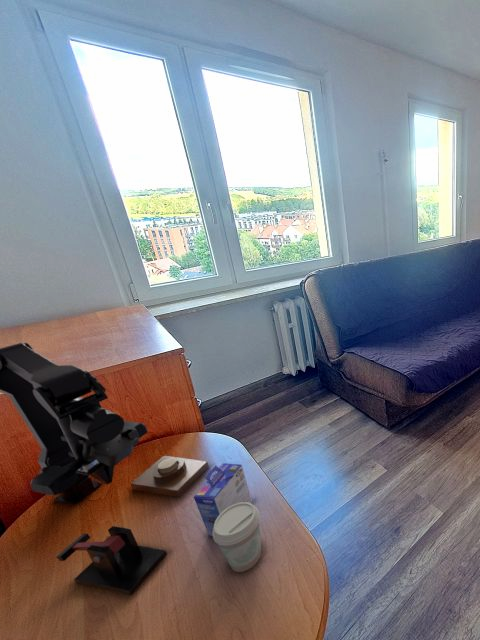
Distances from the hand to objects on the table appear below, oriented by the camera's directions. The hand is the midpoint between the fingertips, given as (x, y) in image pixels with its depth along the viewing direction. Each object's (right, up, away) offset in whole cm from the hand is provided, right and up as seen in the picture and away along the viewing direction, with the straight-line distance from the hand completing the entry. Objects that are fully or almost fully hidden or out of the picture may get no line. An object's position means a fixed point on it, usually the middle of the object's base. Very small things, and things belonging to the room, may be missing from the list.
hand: (108, 483), depth 75 cm
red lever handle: (+4, -11, -7) cm, 13 cm away
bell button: (+2, -3, +15) cm, 15 cm away
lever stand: (+9, -15, -6) cm, 18 cm away
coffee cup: (+33, -15, -4) cm, 36 cm away
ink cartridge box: (+25, -11, +5) cm, 27 cm away
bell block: (+2, -7, +16) cm, 17 cm away
